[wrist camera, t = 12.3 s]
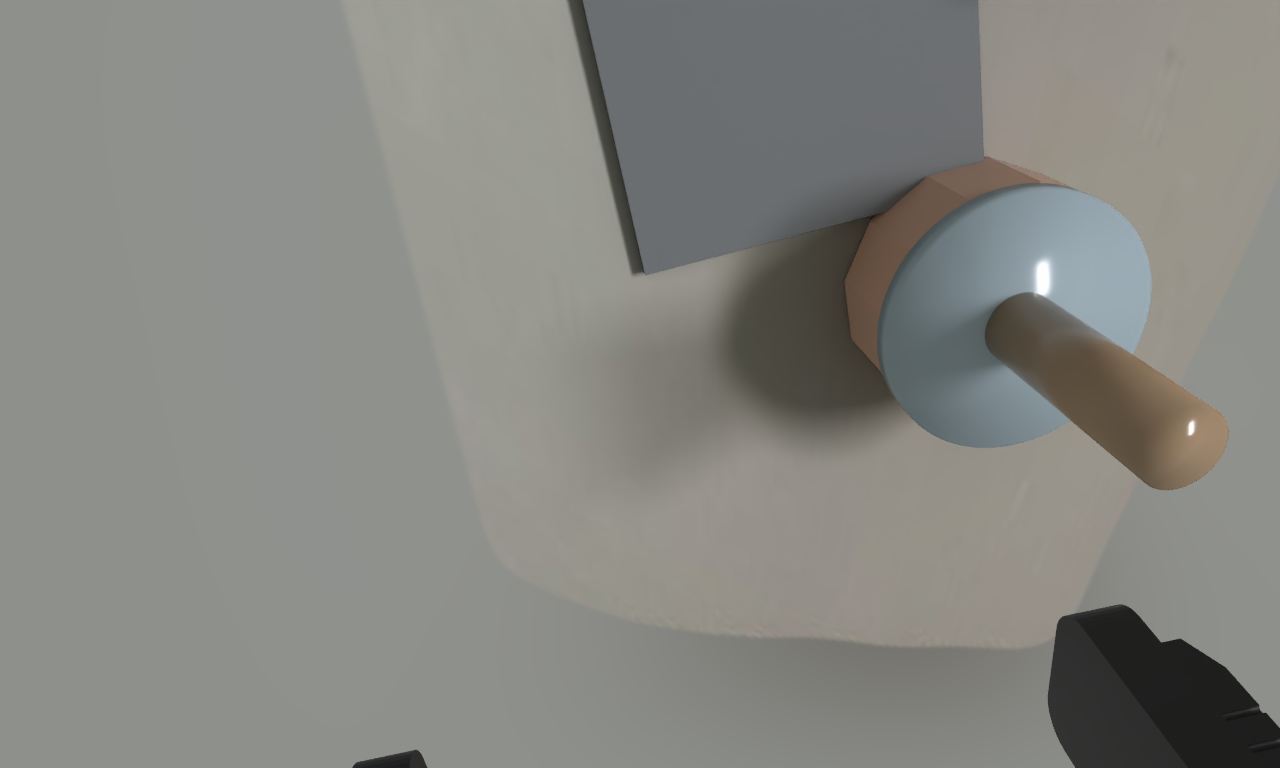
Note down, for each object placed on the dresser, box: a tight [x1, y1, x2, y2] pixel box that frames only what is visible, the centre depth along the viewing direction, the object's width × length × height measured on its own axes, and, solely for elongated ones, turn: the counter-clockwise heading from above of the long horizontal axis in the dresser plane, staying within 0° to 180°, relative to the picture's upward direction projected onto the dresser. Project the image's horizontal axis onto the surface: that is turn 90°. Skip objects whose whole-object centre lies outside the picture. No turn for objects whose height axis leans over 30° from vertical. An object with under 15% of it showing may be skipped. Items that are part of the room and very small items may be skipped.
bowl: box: [844, 157, 1069, 373], centre depth 37 cm, size 10×10×4 cm
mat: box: [582, 0, 984, 275], centre depth 33 cm, size 14×14×1 cm
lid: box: [877, 183, 1229, 490], centre depth 31 cm, size 10×10×10 cm
